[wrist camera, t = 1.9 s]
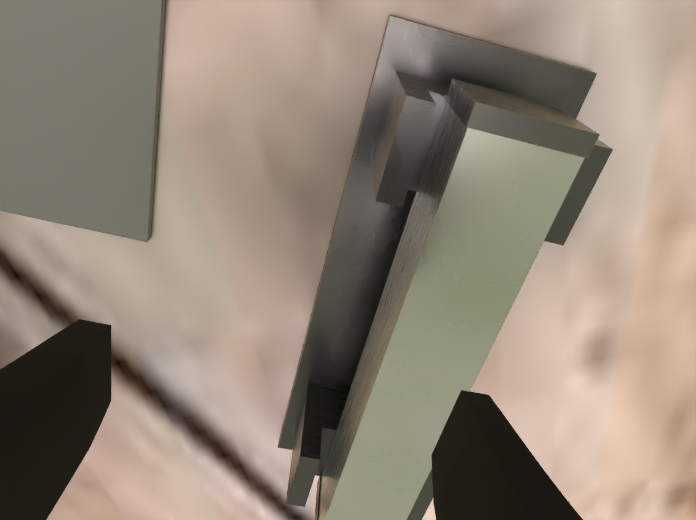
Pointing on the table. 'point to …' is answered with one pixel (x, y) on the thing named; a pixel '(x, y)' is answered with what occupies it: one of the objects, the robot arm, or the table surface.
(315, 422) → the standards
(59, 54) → the pad
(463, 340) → the rail
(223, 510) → the table surface
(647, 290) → the table surface
